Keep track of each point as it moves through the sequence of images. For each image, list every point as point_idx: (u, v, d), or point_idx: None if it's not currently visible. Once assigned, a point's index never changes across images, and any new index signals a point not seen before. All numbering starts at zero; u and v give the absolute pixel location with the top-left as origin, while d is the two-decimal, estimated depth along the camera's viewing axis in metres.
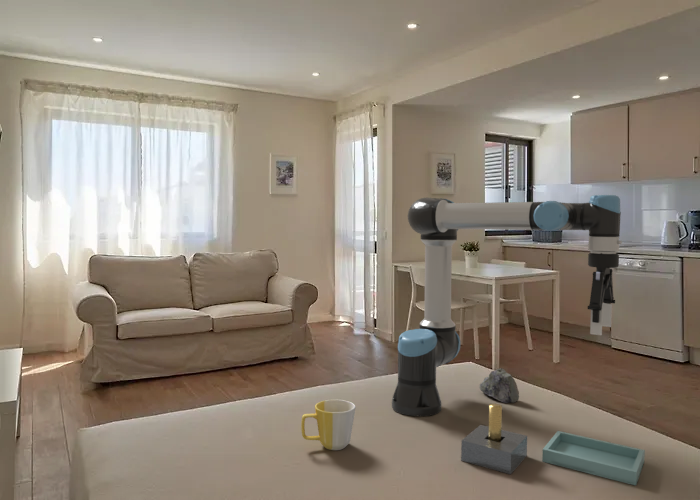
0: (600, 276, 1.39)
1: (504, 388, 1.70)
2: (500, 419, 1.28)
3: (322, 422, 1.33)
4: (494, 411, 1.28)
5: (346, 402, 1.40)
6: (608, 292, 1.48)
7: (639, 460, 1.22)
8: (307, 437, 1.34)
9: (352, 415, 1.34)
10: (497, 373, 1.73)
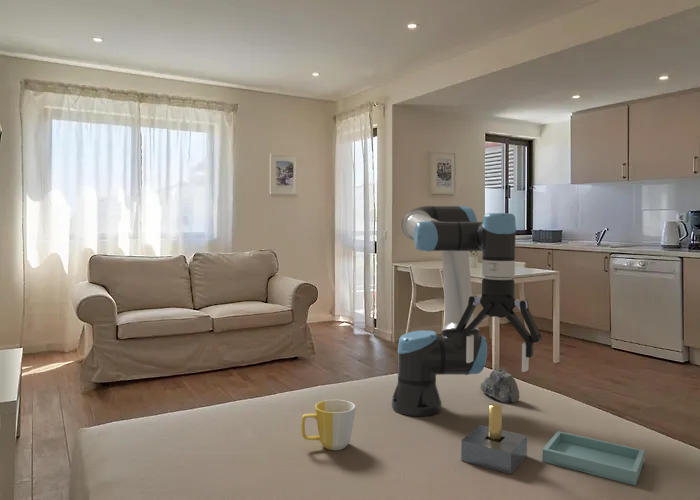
0: None
1: (504, 388, 1.70)
2: (500, 419, 1.28)
3: (322, 422, 1.33)
4: (494, 411, 1.28)
5: (346, 402, 1.40)
6: None
7: (639, 460, 1.22)
8: (307, 437, 1.34)
9: (352, 415, 1.34)
10: (497, 373, 1.73)
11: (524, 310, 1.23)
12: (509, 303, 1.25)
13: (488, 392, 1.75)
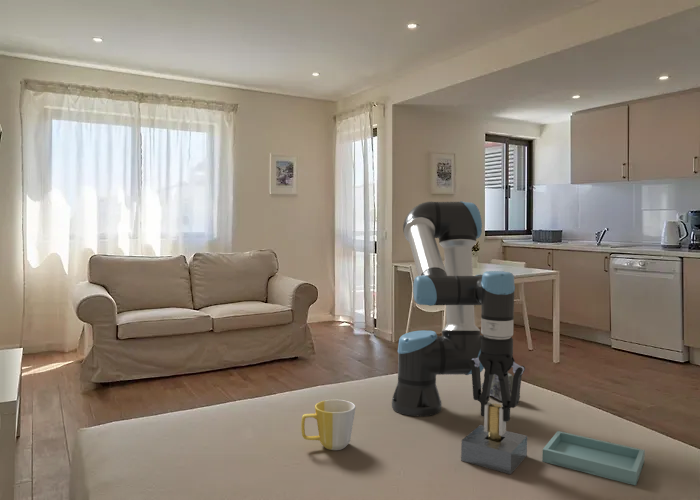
0: None
1: None
2: None
3: (322, 422, 1.33)
4: (494, 411, 1.28)
5: (346, 402, 1.40)
6: None
7: (639, 460, 1.22)
8: (307, 437, 1.34)
9: (352, 415, 1.34)
10: None
11: (517, 377, 1.25)
12: (508, 362, 1.26)
13: None
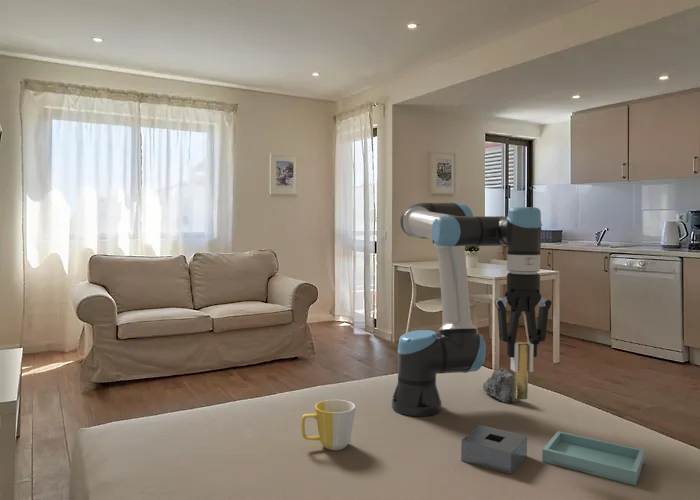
0: (498, 306, 1.26)
1: (505, 388, 1.70)
2: None
3: (322, 422, 1.33)
4: (524, 349, 1.26)
5: (346, 402, 1.40)
6: (530, 324, 1.27)
7: (639, 460, 1.22)
8: (307, 437, 1.34)
9: (352, 415, 1.34)
10: (499, 373, 1.73)
11: (547, 309, 1.27)
12: (538, 297, 1.26)
13: (490, 392, 1.75)
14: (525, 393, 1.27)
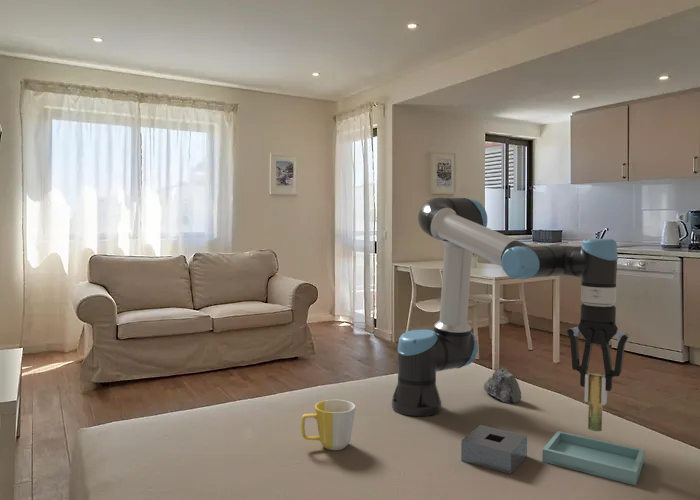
0: None
1: (506, 388, 1.70)
2: None
3: (322, 422, 1.33)
4: (595, 381, 1.26)
5: (346, 402, 1.40)
6: (603, 357, 1.25)
7: (639, 460, 1.22)
8: (307, 437, 1.34)
9: (352, 415, 1.34)
10: (499, 373, 1.73)
11: (622, 344, 1.22)
12: (611, 330, 1.24)
13: (490, 392, 1.75)
14: (596, 425, 1.26)
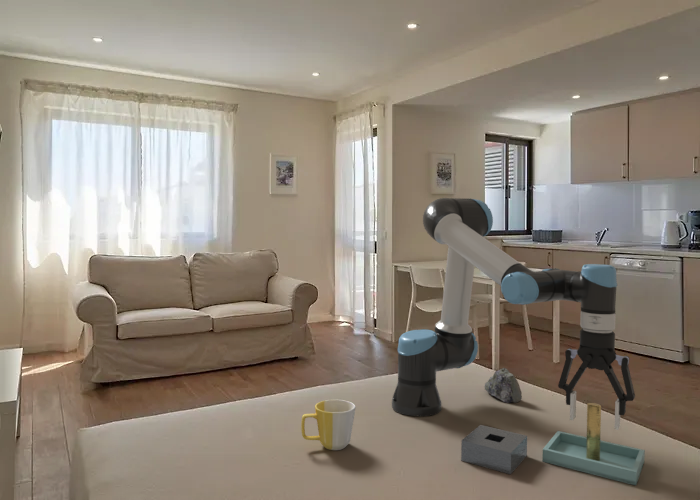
0: None
1: (506, 388, 1.70)
2: (600, 419, 1.27)
3: (322, 422, 1.33)
4: (593, 411, 1.26)
5: (346, 402, 1.40)
6: None
7: (639, 460, 1.22)
8: (307, 437, 1.34)
9: (352, 415, 1.34)
10: (500, 373, 1.73)
11: (625, 367, 1.22)
12: (610, 356, 1.24)
13: (491, 391, 1.75)
14: (594, 455, 1.27)
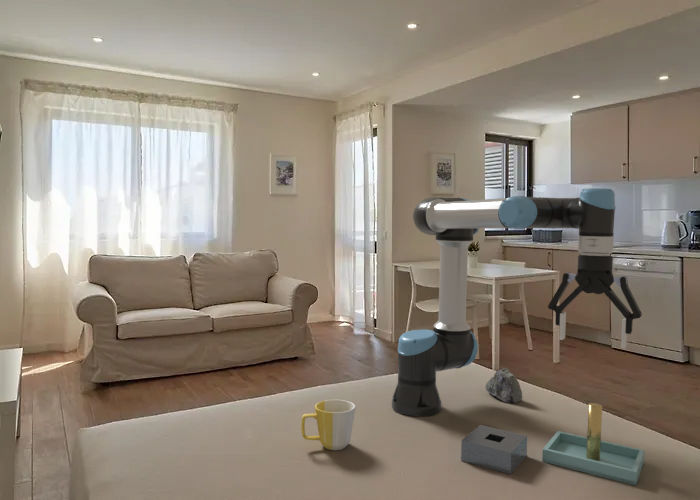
0: None
1: (506, 388, 1.70)
2: (600, 419, 1.27)
3: (322, 422, 1.33)
4: (594, 411, 1.26)
5: (346, 402, 1.40)
6: (614, 304, 1.24)
7: (639, 460, 1.22)
8: (307, 437, 1.34)
9: (352, 415, 1.34)
10: (501, 373, 1.73)
11: (625, 286, 1.22)
12: (608, 279, 1.24)
13: (491, 391, 1.75)
14: (594, 455, 1.27)
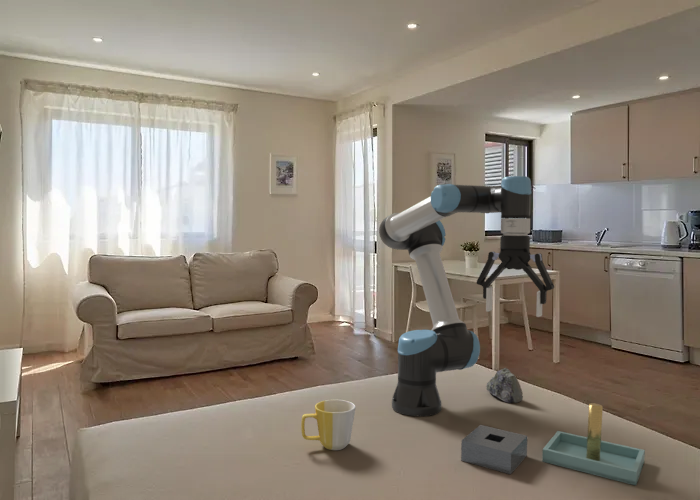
0: None
1: (507, 388, 1.70)
2: (601, 419, 1.26)
3: (322, 422, 1.33)
4: (594, 411, 1.26)
5: (346, 402, 1.40)
6: None
7: (639, 460, 1.22)
8: (307, 437, 1.34)
9: (352, 415, 1.34)
10: (501, 373, 1.73)
11: (539, 262, 1.38)
12: (525, 256, 1.40)
13: (492, 391, 1.75)
14: (594, 455, 1.27)
